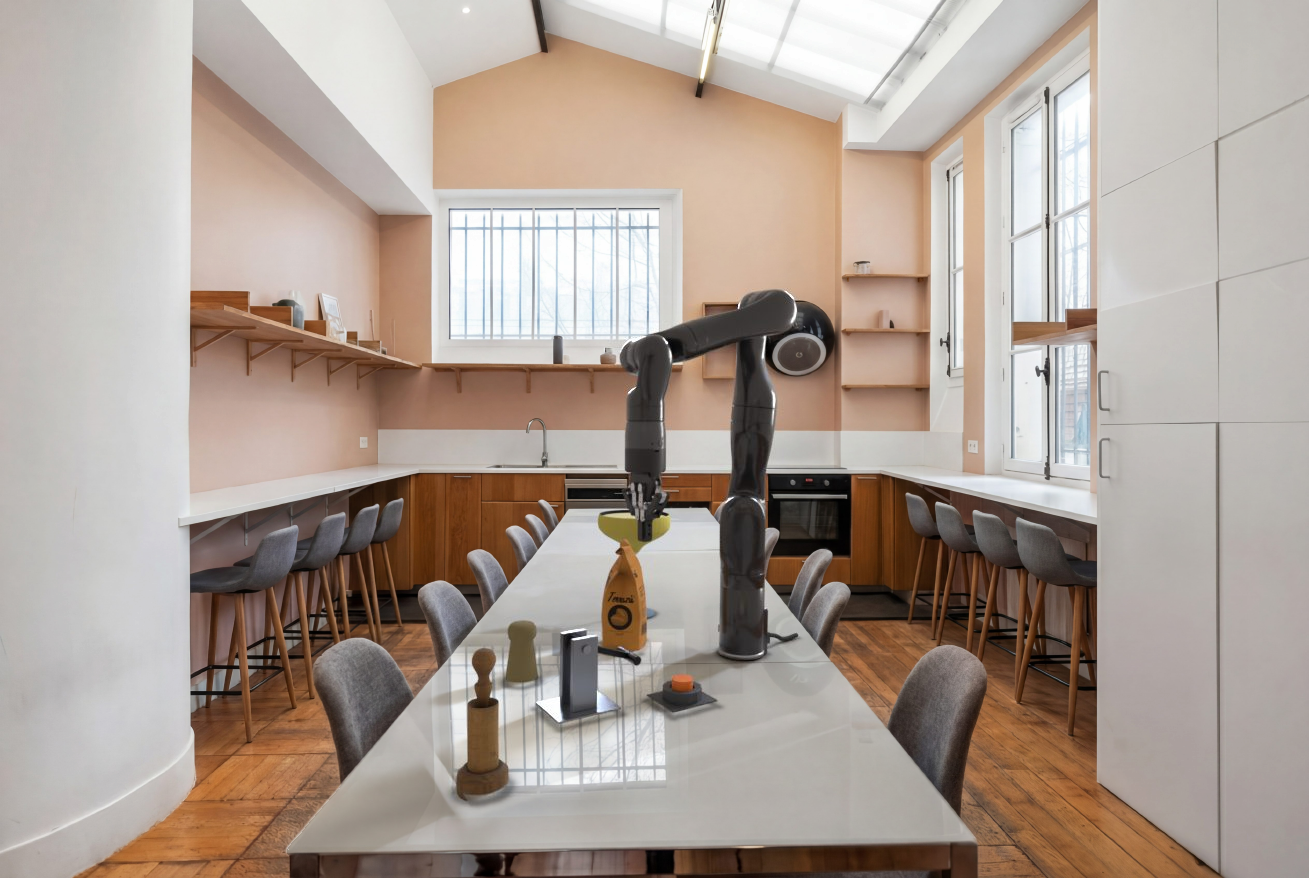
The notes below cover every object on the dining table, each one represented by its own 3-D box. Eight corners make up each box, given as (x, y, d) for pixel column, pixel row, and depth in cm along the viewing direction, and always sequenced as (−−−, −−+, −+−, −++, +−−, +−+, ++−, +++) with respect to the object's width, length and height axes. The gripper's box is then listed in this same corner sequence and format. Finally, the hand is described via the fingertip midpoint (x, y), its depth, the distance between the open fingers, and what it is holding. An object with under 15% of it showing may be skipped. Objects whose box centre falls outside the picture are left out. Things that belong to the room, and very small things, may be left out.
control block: (689, 690, 122) (689, 674, 122) (717, 706, 115) (717, 689, 115) (646, 701, 117) (646, 683, 117) (673, 718, 110) (673, 699, 110)
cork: (530, 689, 121) (531, 627, 121) (499, 686, 122) (499, 625, 122) (543, 677, 127) (544, 618, 127) (512, 674, 128) (513, 616, 128)
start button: (684, 682, 118) (684, 672, 118) (696, 689, 115) (697, 679, 115) (667, 686, 116) (667, 676, 116) (679, 694, 113) (679, 683, 113)
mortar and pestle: (462, 775, 91) (463, 641, 91) (511, 774, 92) (512, 640, 91) (451, 803, 85) (452, 658, 84) (504, 801, 85) (506, 657, 85)
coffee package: (594, 655, 140) (596, 547, 139) (605, 636, 152) (606, 538, 152) (642, 657, 139) (644, 549, 138) (649, 638, 151) (651, 539, 151)
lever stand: (595, 695, 119) (596, 622, 119) (620, 714, 111) (622, 636, 111) (535, 709, 113) (536, 631, 113) (558, 730, 105) (559, 647, 105)
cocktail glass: (605, 602, 181) (606, 508, 181) (672, 606, 179) (674, 510, 179) (589, 621, 164) (590, 517, 163) (664, 625, 161) (665, 519, 161)
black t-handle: (621, 658, 120) (625, 644, 120) (639, 668, 115) (643, 654, 115) (561, 645, 113) (566, 631, 114) (577, 656, 108) (582, 641, 109)
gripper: (609, 445, 128) (609, 538, 129) (647, 447, 117) (647, 548, 117) (643, 445, 132) (642, 534, 133) (683, 447, 121) (682, 544, 122)
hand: (644, 541), depth 125 cm, fingers closed
